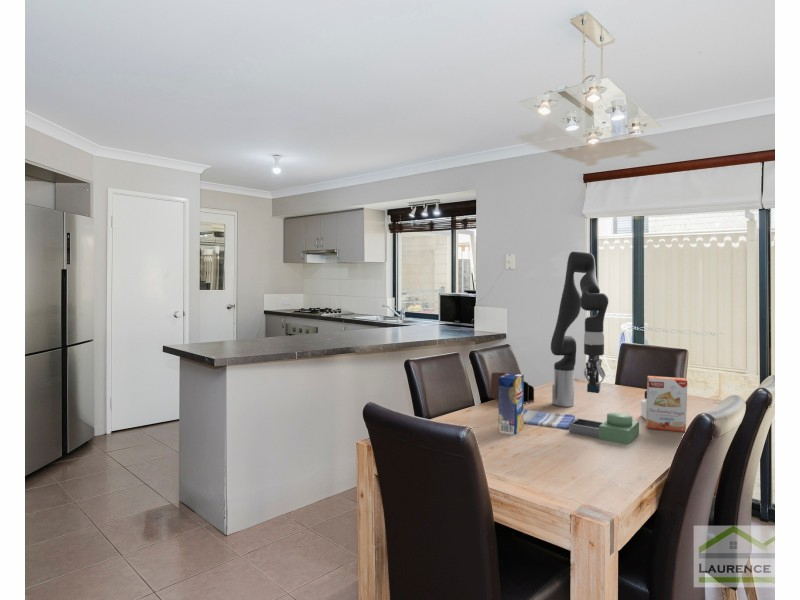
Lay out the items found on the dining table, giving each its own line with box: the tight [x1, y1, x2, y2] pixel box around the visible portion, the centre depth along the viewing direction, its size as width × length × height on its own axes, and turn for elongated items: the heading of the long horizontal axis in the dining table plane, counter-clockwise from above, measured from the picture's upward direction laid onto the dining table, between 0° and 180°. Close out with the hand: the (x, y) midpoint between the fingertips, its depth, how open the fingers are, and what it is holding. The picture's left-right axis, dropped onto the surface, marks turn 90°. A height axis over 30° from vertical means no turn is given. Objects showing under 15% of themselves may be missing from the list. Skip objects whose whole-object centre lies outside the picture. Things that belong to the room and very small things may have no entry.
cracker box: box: [645, 375, 688, 433], centre depth 206 cm, size 14×6×21 cm, turn 69°
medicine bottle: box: [640, 390, 647, 421], centre depth 222 cm, size 7×7×12 cm
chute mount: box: [568, 417, 605, 439], centre depth 201 cm, size 12×10×4 cm
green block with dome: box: [598, 412, 640, 445], centre depth 196 cm, size 11×16×8 cm
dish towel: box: [523, 408, 577, 430], centre depth 218 cm, size 17×24×3 cm
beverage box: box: [497, 372, 525, 436], centre depth 204 cm, size 7×11×22 cm, turn 150°
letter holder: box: [490, 372, 535, 405], centre depth 256 cm, size 10×20×14 cm, turn 40°
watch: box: [583, 365, 606, 394], centre depth 204 cm, size 6×8×11 cm
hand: (593, 385), depth 204 cm, fingers closed on watch, 3 cm apart
